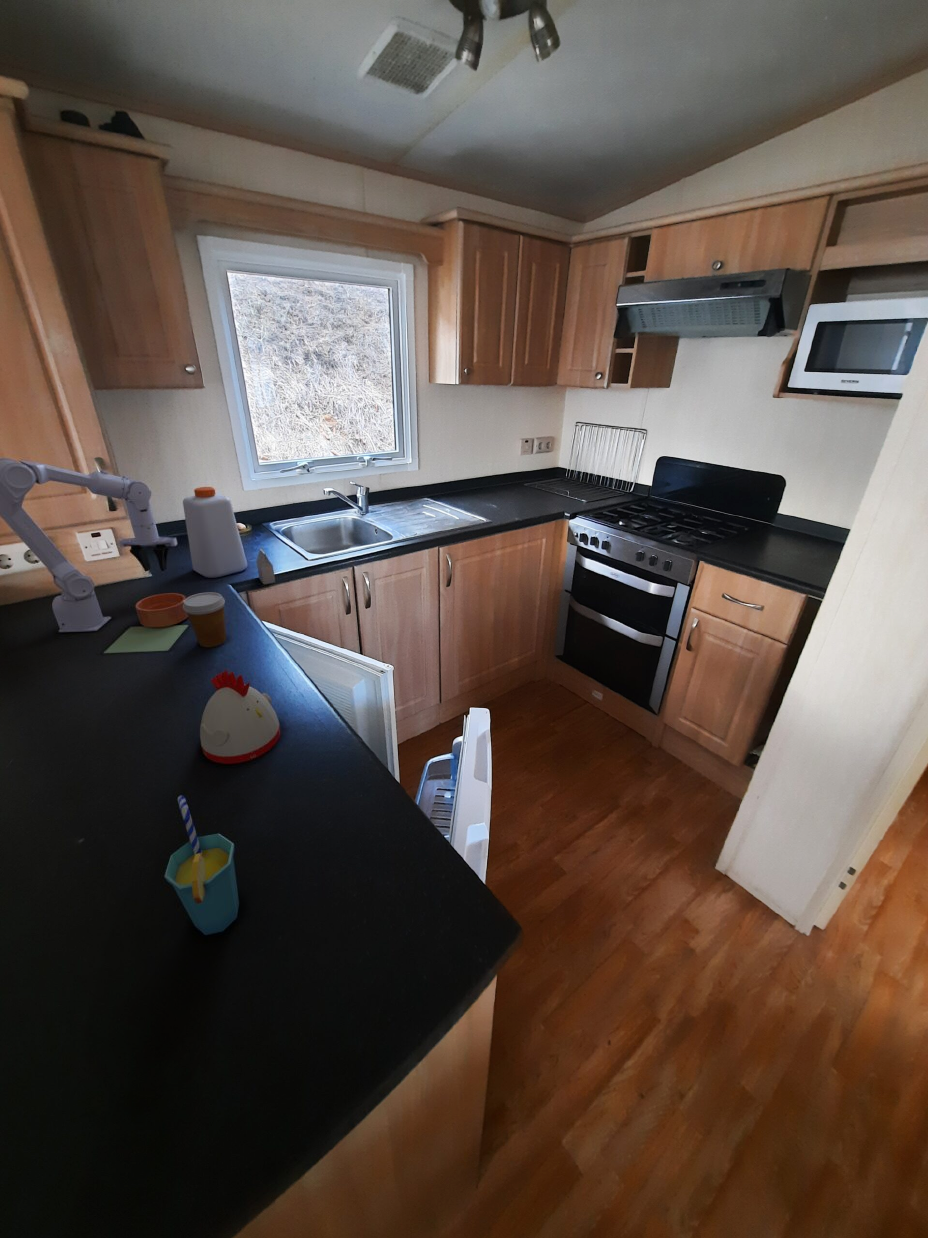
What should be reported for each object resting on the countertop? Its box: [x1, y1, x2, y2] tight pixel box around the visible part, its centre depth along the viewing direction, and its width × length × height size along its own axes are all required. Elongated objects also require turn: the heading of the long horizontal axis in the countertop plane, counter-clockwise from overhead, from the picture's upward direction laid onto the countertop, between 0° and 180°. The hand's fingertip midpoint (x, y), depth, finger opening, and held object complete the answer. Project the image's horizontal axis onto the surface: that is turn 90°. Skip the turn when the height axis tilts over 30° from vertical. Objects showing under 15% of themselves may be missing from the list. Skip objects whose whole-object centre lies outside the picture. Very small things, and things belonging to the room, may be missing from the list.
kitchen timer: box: [199, 669, 282, 765], centre depth 94 cm, size 14×14×15 cm
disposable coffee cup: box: [183, 591, 227, 648], centre depth 128 cm, size 10×10×12 cm
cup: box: [163, 795, 240, 936], centre depth 63 cm, size 14×8×15 cm, turn 37°
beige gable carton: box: [255, 548, 276, 585], centre depth 166 cm, size 4×7×10 cm, turn 32°
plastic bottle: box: [182, 486, 248, 579], centre depth 170 cm, size 15×15×28 cm
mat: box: [103, 624, 189, 654], centre depth 131 cm, size 15×14×1 cm
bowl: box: [135, 592, 189, 628], centre depth 140 cm, size 12×12×6 cm
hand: (155, 569), depth 147 cm, fingers open, 4 cm apart
